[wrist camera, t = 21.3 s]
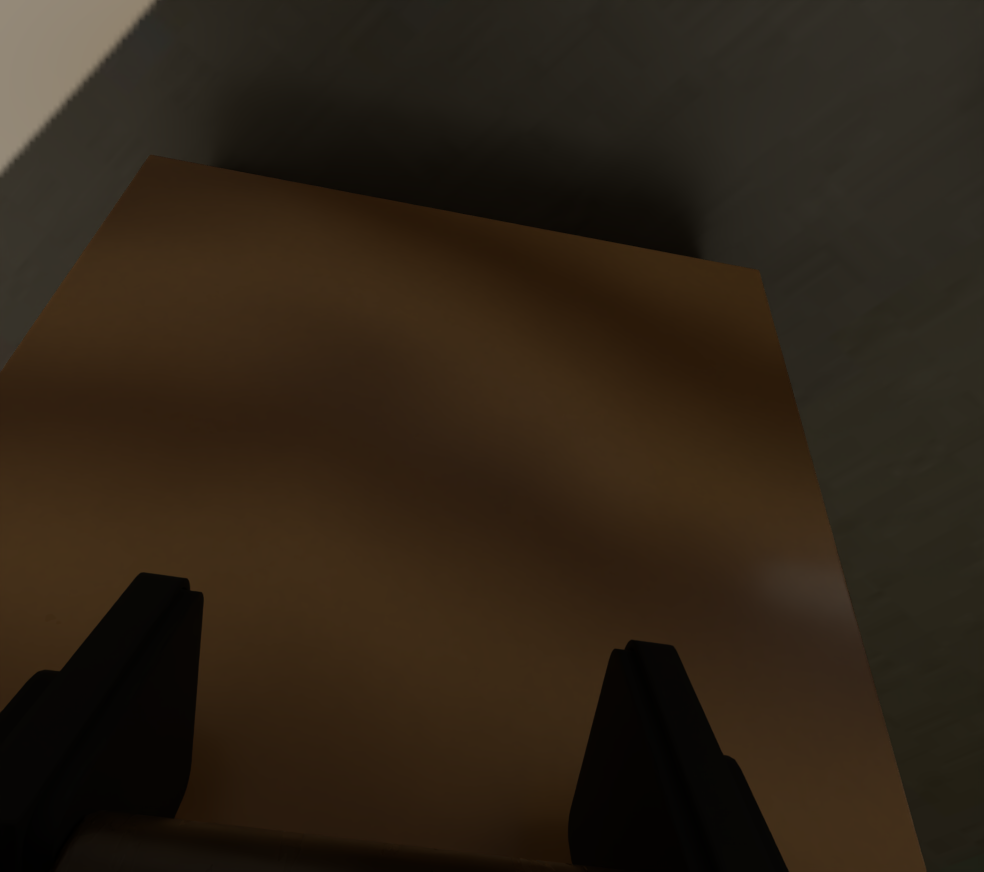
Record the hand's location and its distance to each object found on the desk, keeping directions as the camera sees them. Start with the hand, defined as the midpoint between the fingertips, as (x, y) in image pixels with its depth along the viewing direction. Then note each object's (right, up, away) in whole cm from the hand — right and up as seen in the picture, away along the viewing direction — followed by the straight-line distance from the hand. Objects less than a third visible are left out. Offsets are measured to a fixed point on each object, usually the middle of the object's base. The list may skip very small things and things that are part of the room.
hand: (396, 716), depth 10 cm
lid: (0, +2, +4) cm, 5 cm away
